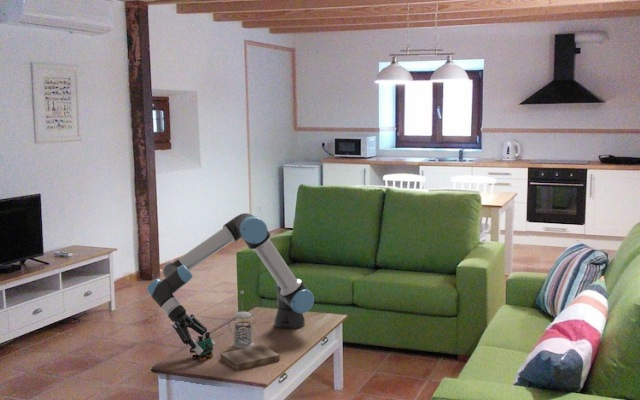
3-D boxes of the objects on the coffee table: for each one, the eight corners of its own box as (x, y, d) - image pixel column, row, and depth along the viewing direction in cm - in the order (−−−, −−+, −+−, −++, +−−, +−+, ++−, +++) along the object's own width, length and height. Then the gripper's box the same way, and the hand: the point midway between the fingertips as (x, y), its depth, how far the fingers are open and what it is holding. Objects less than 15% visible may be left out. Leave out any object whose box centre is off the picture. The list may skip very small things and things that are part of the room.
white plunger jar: (250, 348, 306) (249, 294, 303) (225, 347, 309) (224, 293, 306) (256, 341, 316) (255, 288, 313) (232, 340, 318) (231, 287, 315)
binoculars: (197, 330, 302) (214, 331, 297) (200, 354, 303) (217, 355, 297) (183, 336, 294) (201, 337, 289) (186, 360, 295) (203, 362, 290)
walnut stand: (261, 349, 305) (261, 344, 304) (279, 360, 291) (279, 354, 291) (220, 359, 294) (220, 353, 293) (237, 370, 280) (236, 364, 280)
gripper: (183, 308, 310) (214, 346, 306) (154, 322, 290) (188, 363, 286) (192, 298, 307) (224, 336, 303) (164, 311, 287) (198, 352, 283)
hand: (207, 349), depth 295 cm, fingers closed on binoculars, 9 cm apart
